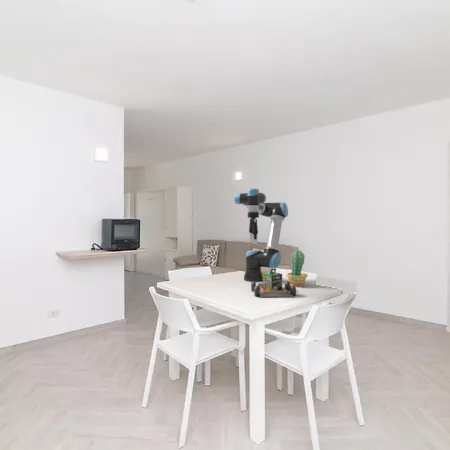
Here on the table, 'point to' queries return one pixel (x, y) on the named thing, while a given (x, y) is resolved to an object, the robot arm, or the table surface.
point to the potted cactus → (297, 270)
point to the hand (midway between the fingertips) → (253, 243)
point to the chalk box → (272, 281)
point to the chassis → (273, 294)
